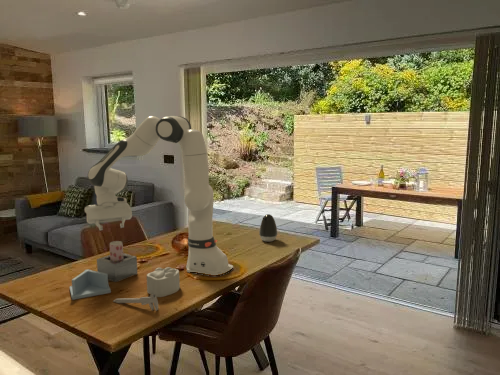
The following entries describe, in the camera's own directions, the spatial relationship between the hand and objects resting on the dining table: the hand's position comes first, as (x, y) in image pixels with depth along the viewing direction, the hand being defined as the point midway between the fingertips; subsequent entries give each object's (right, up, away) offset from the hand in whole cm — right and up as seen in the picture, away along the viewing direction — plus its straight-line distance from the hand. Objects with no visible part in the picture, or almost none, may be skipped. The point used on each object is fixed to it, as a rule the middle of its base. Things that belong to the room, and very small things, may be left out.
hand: (111, 228), depth 197 cm
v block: (-2, -23, -23) cm, 32 cm away
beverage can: (+4, -20, -5) cm, 22 cm away
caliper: (+20, -26, -36) cm, 49 cm away
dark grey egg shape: (+74, -11, +46) cm, 88 cm away
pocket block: (+4, -20, -5) cm, 21 cm away
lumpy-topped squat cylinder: (+29, -23, -22) cm, 43 cm away
